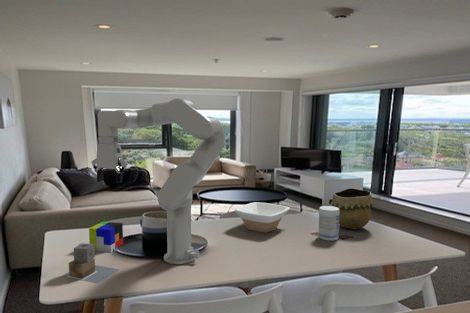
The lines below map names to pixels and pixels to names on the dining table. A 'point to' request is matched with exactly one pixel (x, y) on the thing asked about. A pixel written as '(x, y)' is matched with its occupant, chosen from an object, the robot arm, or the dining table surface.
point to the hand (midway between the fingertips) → (109, 181)
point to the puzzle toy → (106, 236)
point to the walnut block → (81, 269)
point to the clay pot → (353, 207)
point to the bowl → (261, 216)
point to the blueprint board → (96, 274)
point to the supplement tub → (328, 223)
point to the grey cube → (84, 253)
